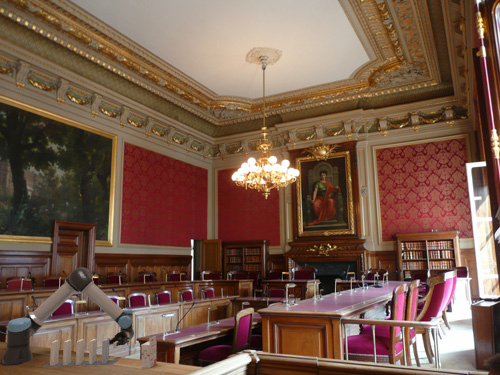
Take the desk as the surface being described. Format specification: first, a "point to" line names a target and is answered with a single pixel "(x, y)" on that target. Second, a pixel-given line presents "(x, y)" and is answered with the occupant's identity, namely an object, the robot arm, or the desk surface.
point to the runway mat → (73, 363)
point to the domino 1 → (54, 352)
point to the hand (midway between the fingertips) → (108, 346)
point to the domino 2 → (67, 352)
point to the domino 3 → (80, 352)
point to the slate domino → (105, 350)
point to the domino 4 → (92, 351)
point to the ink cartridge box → (149, 353)
